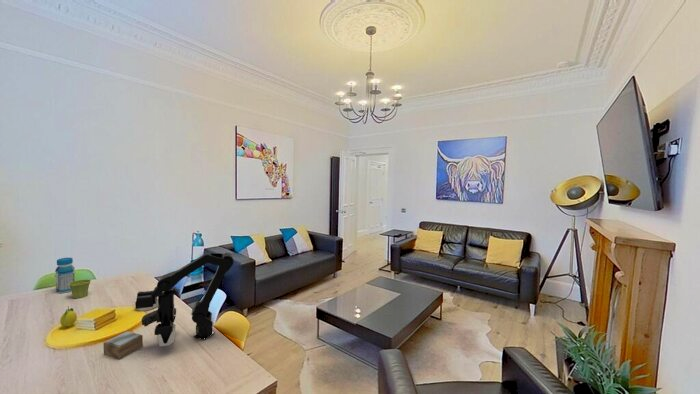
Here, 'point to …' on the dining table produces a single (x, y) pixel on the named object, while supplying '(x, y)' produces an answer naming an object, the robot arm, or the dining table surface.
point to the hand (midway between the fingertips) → (166, 339)
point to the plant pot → (80, 288)
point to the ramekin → (148, 307)
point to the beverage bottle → (64, 275)
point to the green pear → (68, 317)
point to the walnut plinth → (123, 345)
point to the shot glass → (170, 340)
